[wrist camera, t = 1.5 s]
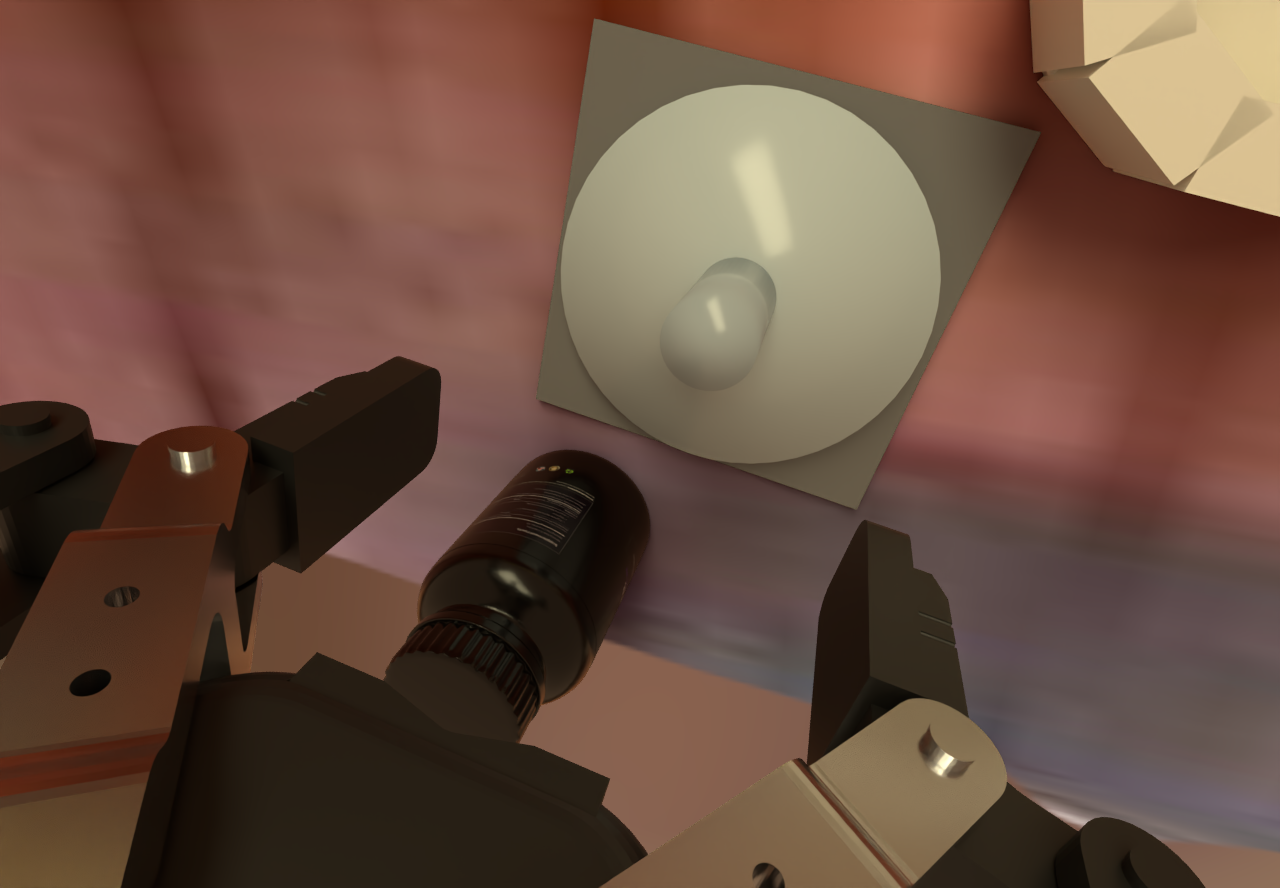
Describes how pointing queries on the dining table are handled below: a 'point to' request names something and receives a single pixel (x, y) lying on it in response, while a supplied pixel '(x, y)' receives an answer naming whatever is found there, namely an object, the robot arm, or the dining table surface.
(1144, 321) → the dining table surface
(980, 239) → the mat
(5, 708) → the robot arm
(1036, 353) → the dining table surface
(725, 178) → the lid
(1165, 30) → the bowl
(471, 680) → the supplement bottle
